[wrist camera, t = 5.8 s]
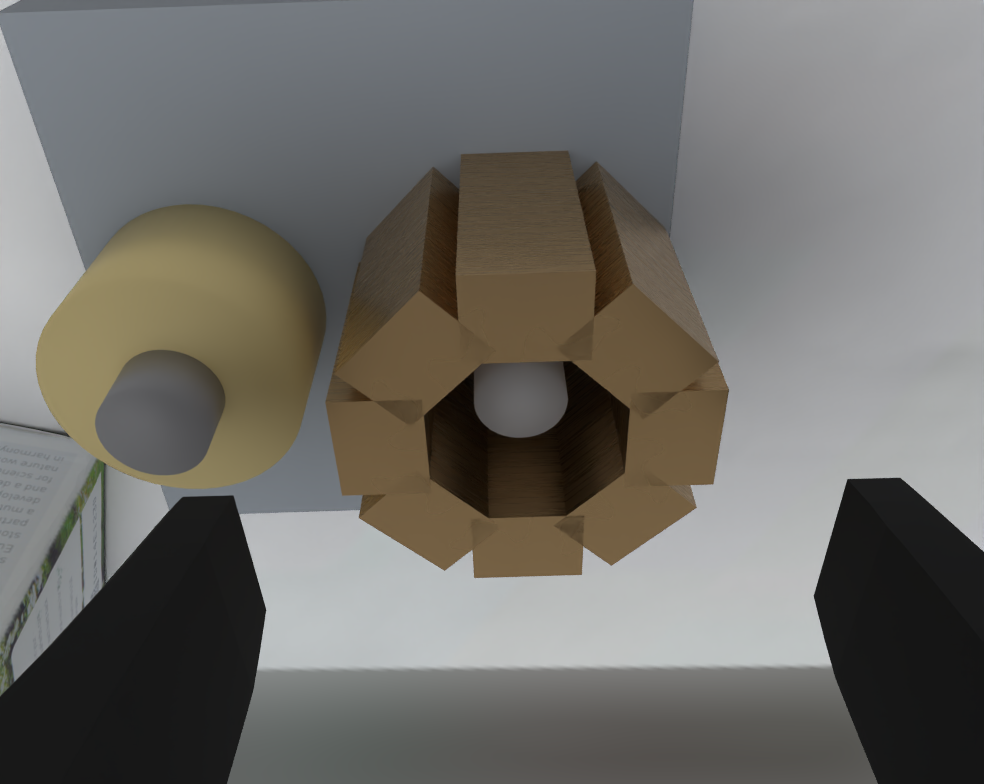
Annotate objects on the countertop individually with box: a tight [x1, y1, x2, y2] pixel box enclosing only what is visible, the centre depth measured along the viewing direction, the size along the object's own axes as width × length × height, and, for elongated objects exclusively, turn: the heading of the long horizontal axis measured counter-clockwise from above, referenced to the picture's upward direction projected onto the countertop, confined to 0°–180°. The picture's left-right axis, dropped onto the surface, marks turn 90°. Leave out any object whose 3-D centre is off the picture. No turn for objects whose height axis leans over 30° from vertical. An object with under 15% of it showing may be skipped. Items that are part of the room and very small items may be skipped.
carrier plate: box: [0, 0, 694, 514], centre depth 14 cm, size 10×10×5 cm
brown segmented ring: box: [325, 150, 729, 578], centre depth 14 cm, size 5×5×4 cm
